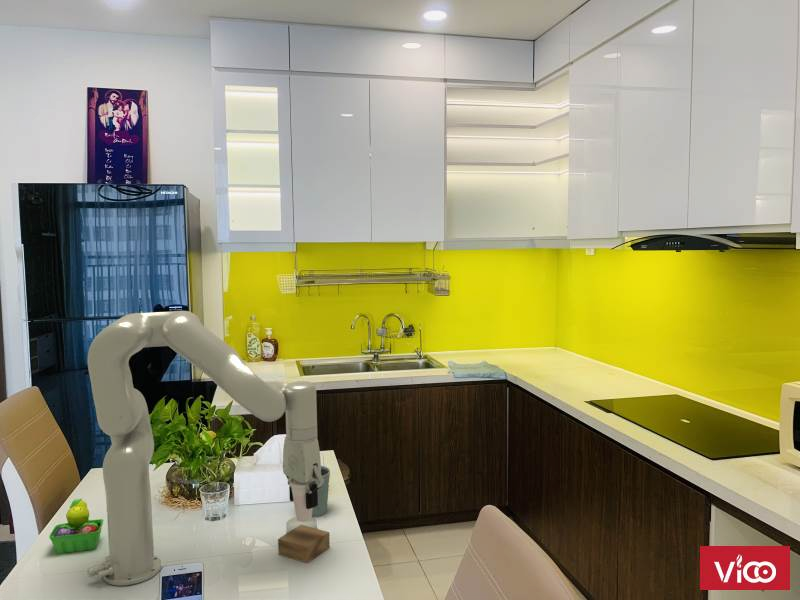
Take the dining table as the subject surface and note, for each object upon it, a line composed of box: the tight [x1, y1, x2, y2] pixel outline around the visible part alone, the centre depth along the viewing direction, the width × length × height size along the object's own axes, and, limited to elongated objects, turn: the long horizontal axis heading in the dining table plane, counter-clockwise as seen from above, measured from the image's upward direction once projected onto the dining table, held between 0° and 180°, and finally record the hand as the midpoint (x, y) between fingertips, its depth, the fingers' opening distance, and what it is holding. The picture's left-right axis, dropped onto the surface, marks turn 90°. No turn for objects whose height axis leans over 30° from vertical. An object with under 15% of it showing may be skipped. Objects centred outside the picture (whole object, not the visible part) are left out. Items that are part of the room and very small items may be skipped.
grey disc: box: [285, 516, 318, 534], centre depth 169 cm, size 8×8×2 cm
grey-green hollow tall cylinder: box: [312, 465, 331, 518], centre depth 181 cm, size 10×10×12 cm
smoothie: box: [289, 477, 313, 522], centre depth 157 cm, size 6×6×14 cm
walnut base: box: [277, 525, 331, 564], centre depth 158 cm, size 9×9×4 cm
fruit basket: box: [48, 498, 104, 555], centre depth 162 cm, size 11×9×11 cm
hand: (303, 502), depth 157 cm, fingers closed on smoothie, 5 cm apart
